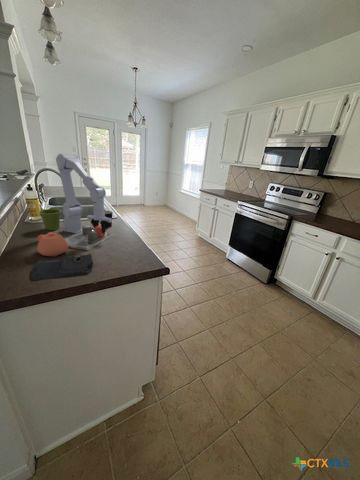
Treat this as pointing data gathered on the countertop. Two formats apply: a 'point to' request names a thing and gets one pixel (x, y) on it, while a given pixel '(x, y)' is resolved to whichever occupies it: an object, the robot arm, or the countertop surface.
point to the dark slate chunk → (62, 268)
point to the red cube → (99, 230)
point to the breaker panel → (86, 240)
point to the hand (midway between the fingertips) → (100, 232)
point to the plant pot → (50, 218)
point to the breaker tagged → (92, 236)
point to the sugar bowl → (51, 244)
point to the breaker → (86, 229)
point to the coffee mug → (109, 215)
